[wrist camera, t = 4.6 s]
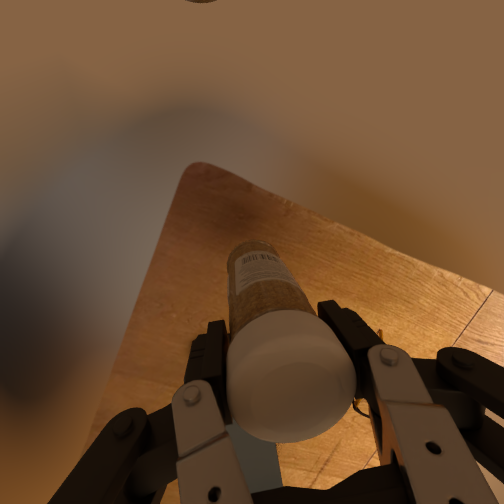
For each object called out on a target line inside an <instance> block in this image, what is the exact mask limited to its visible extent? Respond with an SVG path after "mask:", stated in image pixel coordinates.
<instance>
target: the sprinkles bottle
mask: <svg viewBox="0 0 504 504" xmlns="http://www.w3.org/2000/svg"><path fill="white" fill-rule="evenodd" d="M227 271H228V304H229V327H230V345H229V349H228V352H227V356H226V396H227V403H228V407H229V411H230V413H231V415H232V417H233V418H234V420H235V421H236V423H237V424H238V425H239V426H240V427H241V428H242V429H243V430H245V431H246V432H247V433H249V434H250V435H252V436H254V437H256V438H259V439H261V440H265V441H269V442H275V443H293V442H299V441H303V440H307V439H310V438H313V437H315V436H318V435H320V434H322V433H324V432H325V431H327V430H328V429H330V428H331V427H332V426H334V425H335V424H336V423H337V422H338V421H339V420H340V419H341V418H342V417H343V416H344V415H345V413H346V412H347V410H348V409H349V407H350V405H351V403H352V401H353V399H354V396H355V392H356V385H357V379H356V372H355V368H354V365H353V363H352V361H351V359H350V357H349V355H348V354H347V352H346V350H345V349H344V347H343V346H342V344H341V343H340V341H339V340H338V338H337V337H336V335H335V334H334V332H333V331H332V329H331V328H330V327H329V326H328V325H327V324H326V323H325V322H324V321H322V320H321V319H319V317H318V316H317V315H316V313H315V311H314V310H313V308H312V307H311V305H310V304H309V302H308V299H307V297H306V295H305V294H304V292H303V291H302V289H301V288H300V286H299V285H298V283H297V282H296V280H295V279H294V277H293V276H292V274H291V273H290V271H289V270H288V268H287V267H286V265H285V264H284V263H283V261H282V260H281V259H280V257H279V255H278V253H277V251H276V249H275V248H274V247H273V246H272V245H270V244H269V243H267V242H265V241H261V240H248V241H245V242H242V243H241V244H239V245H238V246H236V247H235V248H234V249H233V250H232V252H231V253H230V255H229V257H228V261H227Z"/></svg>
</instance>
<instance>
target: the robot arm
mask: <svg viewBox="0 0 504 504" xmlns="http://www.w3.org/2000/svg"><path fill="white" fill-rule="evenodd" d="M317 307H318V317H319V319H321V320H322V321H324V322H325V323H326V324H327V325H328V326H329V327H330V328H331V329H332V331H333V332H334V334H335V335H336V337H337V338H338V340H339V341H340V343H341V344H342V346H343V347H344V349H345V350H346V352H347V354H348V355H349V357H350V359H351V361H352V363H353V365H354V368H355V372H356V379H357V385H356V392H355V396H354V398H355V399H356V400H357V399H362V398H365V399H366V400H367V402H368V407H369V416H370V421H371V425H372V429H373V434H374V438H375V443H376V447H377V452H378V456H379V461H380V465H381V466H377V467H373V468H368V469H363V470H359V471H358V472H356V473H354V474H353V475H351V476H349V477H348V478H346V479H345V480H343V481H341V482H340V483H338V484H336V485H335V486H333V487H331V488H330V489H327V490H319V489H309V488H300V487H290V486H284V487H279V488H274V489H270V490H265V491H260V492H256V493H251V494H250V491H249V488H248V486H247V483H246V480H245V477H244V474H243V471H242V469H241V466H240V463H239V460H238V457H237V455H236V452H235V449H234V446H233V443H232V441H231V438H230V435H229V433H228V432H227V431H226V428H225V425H230V424H233V417H232V415H231V413H230V411H229V407H228V403H227V396H226V356H227V352H228V349H229V345H230V344H229V339H228V335H227V330H226V325H225V321H224V320H218V321H213V322H209V323H208V329H207V333H206V334H201V335H198V337H197V338H196V339H195V341H194V342H193V345H192V350H191V354H190V359H189V363H188V368H187V373H186V377H185V382H184V385H182V386H181V387H180V388H179V389H178V390H177V391H176V392H175V394H174V396H173V398H172V403H170V404H169V405H167V406H166V407H164V408H162V409H160V410H158V411H156V412H153V413H151V414H149V415H147V414H146V412H145V410H143V409H142V408H130V409H127V410H125V411H122V412H121V413H119V414H118V415H116V416H115V417H114V418H112V419H111V420H110V421H109V422H108V423H107V425H106V426H105V427H104V429H103V430H102V431H101V433H100V434H99V435H98V437H97V438H96V439H95V441H94V442H93V443H92V445H91V446H90V447H89V449H88V450H87V451H86V453H85V454H84V455H83V457H82V458H81V459H80V461H79V462H78V463H77V465H76V466H75V468H74V469H73V470H72V472H71V473H70V474H69V475H68V477H67V478H66V480H65V481H64V482H63V483H62V485H61V486H60V487H59V489H58V490H57V492H56V493H55V494H54V495H53V497H52V498H51V499H50V501H49V502H48V503H47V504H160V502H161V499H162V497H163V494H164V492H165V489H166V487H167V484H168V483H170V482H172V481H173V480H175V479H177V478H178V485H179V494H180V502H181V504H499V503H498V501H497V499H496V497H495V495H494V493H493V492H492V490H491V488H490V486H489V485H488V483H487V481H486V479H485V477H484V475H483V473H482V472H481V470H480V468H479V466H478V465H477V463H476V461H477V462H478V463H480V464H481V465H482V466H483V467H484V468H486V469H487V470H488V471H489V472H490V473H491V474H493V475H494V476H495V477H496V478H497V479H498V480H500V481H501V482H502V483H503V484H504V428H503V427H502V426H501V425H499V424H498V423H496V422H495V421H493V420H492V419H491V418H489V417H488V416H486V415H485V409H486V408H487V409H489V410H490V411H492V412H493V413H495V414H496V415H498V416H500V417H501V418H503V419H504V367H502V366H500V365H498V364H496V363H494V362H492V361H490V360H488V359H486V358H484V357H482V356H480V355H478V354H476V353H474V352H472V351H469V350H466V349H463V348H458V347H446V348H442V349H440V350H439V351H438V352H437V358H436V359H420V358H411V357H410V356H409V355H408V354H407V353H406V352H405V351H404V350H402V349H400V348H398V347H396V346H392V345H387V344H385V343H384V342H383V340H382V339H381V338H380V337H379V336H378V335H377V334H376V333H375V332H374V331H373V330H372V329H371V328H370V327H369V326H368V325H367V324H366V322H365V321H364V320H362V318H361V317H360V316H359V315H358V314H357V313H356V312H354V311H352V310H350V309H348V308H342V309H341V308H340V306H339V305H338V304H337V303H336V302H335V301H334V300H328V301H323V302H318V305H317ZM475 460H476V461H475Z"/></svg>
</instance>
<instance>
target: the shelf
mask: <svg viewBox="0 0 504 504" xmlns="http://www.w3.org/2000/svg"><path fill="white" fill-rule="evenodd" d="M227 335H228V339H229V344H230V334H227ZM194 341H195V340H194ZM194 341H193V342H194ZM193 342H192V345H193ZM191 350H192V346H191ZM190 354H191V351H190ZM189 359H190V355H189ZM189 359H188V363H189ZM188 363H187V368H188ZM187 368H186V372H185V376H184V382H185V377H186V373H187ZM225 428H226V431H227V432H228V433H229V435H230V438H231V441H232V443H233V446H234V449H235V452H236V455H237V457H238V460H239V463H240V466H241V469H242V471H243V474H244V477H245V480H246V483H247V486H248V488H249V491H250V494H251V493H256V492H260V491H265V490H270V489H274V488H279V487H283V484H282V478H281V472H280V466H279V461H278V455H277V449H276V443H275V442H269V441H265V440H261V439H259V438H256V437H254V436H252V435H250V434H249V433H247V432H246V431H245V430H243V429H242V428H241V427H240V426H239V425H238V424H237V423H236V421H235V420H234V418H233V424H230V425H225Z"/></svg>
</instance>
